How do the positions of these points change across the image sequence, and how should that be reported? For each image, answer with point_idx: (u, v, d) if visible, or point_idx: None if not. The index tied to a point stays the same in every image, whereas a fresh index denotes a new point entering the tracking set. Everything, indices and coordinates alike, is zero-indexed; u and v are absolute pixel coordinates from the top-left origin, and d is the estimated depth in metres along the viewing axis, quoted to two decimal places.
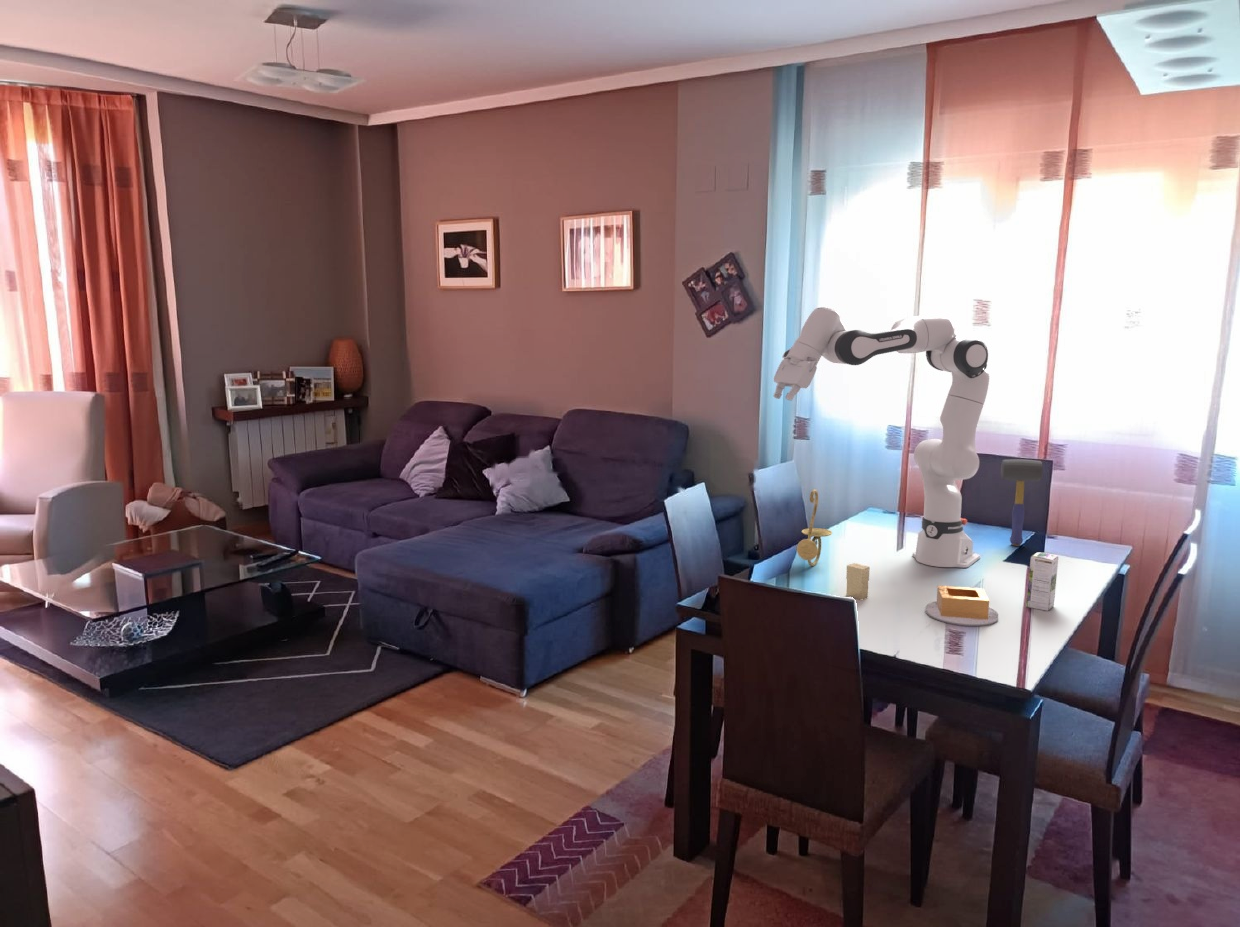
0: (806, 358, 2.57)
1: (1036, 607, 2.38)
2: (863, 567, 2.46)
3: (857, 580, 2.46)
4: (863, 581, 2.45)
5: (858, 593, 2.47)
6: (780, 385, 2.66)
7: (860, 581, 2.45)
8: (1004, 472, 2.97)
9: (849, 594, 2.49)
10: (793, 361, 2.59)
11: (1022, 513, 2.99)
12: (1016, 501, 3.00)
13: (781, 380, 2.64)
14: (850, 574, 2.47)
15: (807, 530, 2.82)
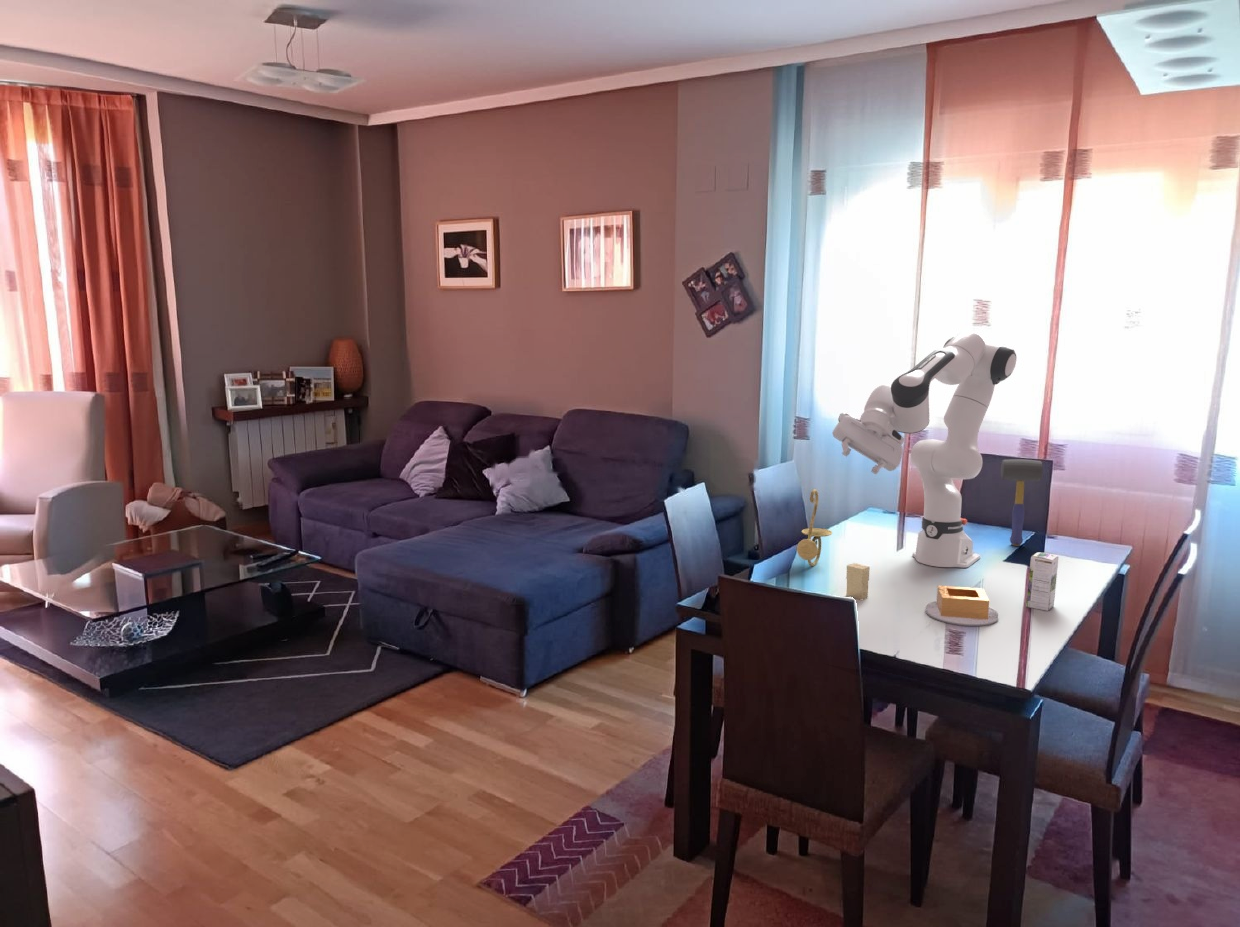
0: None
1: (1036, 607, 2.38)
2: (863, 567, 2.46)
3: (857, 580, 2.46)
4: (863, 581, 2.45)
5: (858, 593, 2.47)
6: (878, 463, 2.45)
7: (860, 581, 2.45)
8: (1004, 472, 2.97)
9: (849, 594, 2.49)
10: None
11: (1022, 513, 2.99)
12: (1016, 501, 3.00)
13: None
14: (850, 574, 2.47)
15: (807, 530, 2.82)
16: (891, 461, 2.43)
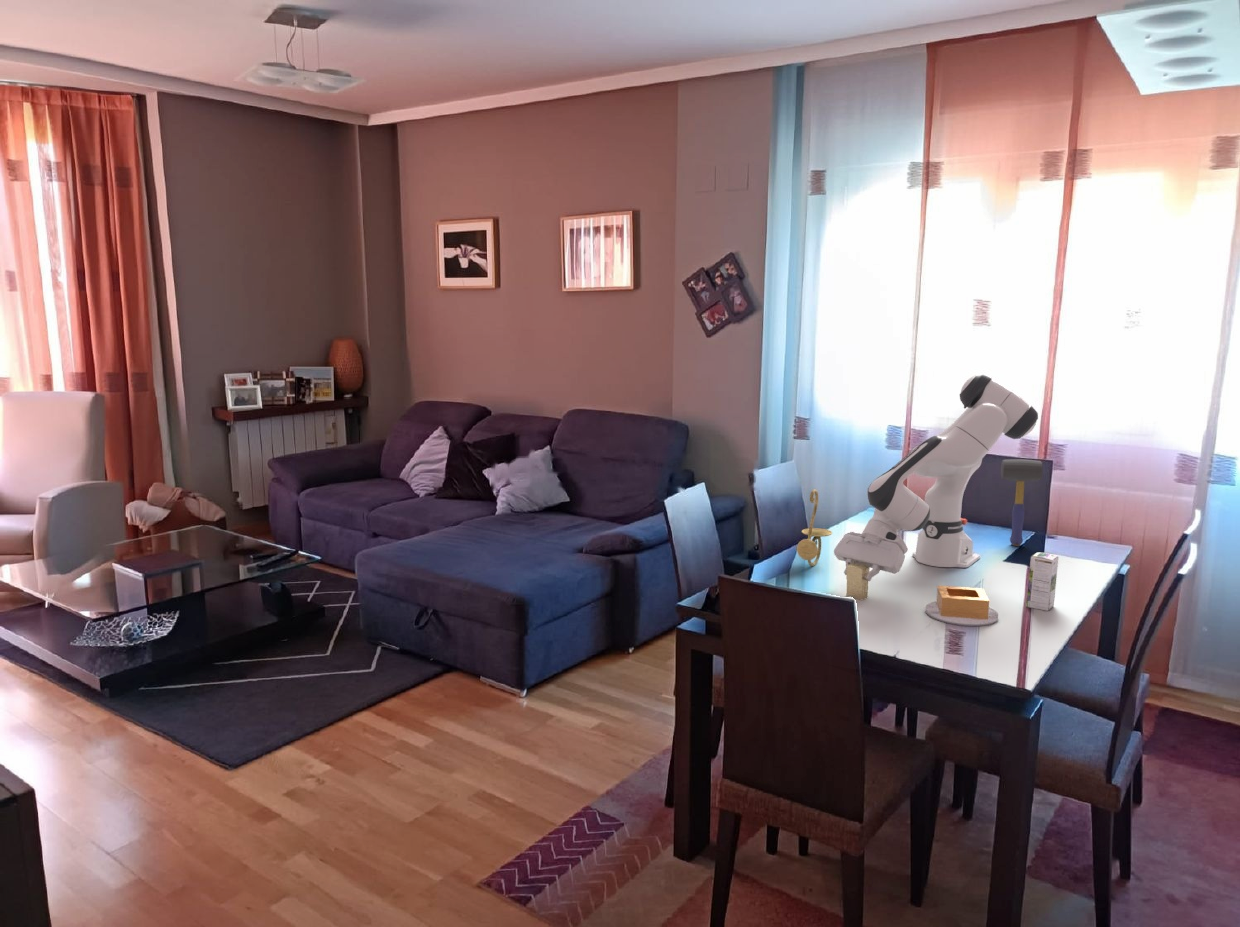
0: None
1: (1036, 607, 2.38)
2: (863, 567, 2.46)
3: (857, 580, 2.46)
4: (863, 581, 2.45)
5: (857, 593, 2.47)
6: None
7: (860, 581, 2.45)
8: (1004, 472, 2.97)
9: (849, 594, 2.49)
10: None
11: (1022, 513, 2.99)
12: (1016, 501, 3.00)
13: None
14: (850, 574, 2.47)
15: (807, 530, 2.82)
16: (885, 565, 2.42)
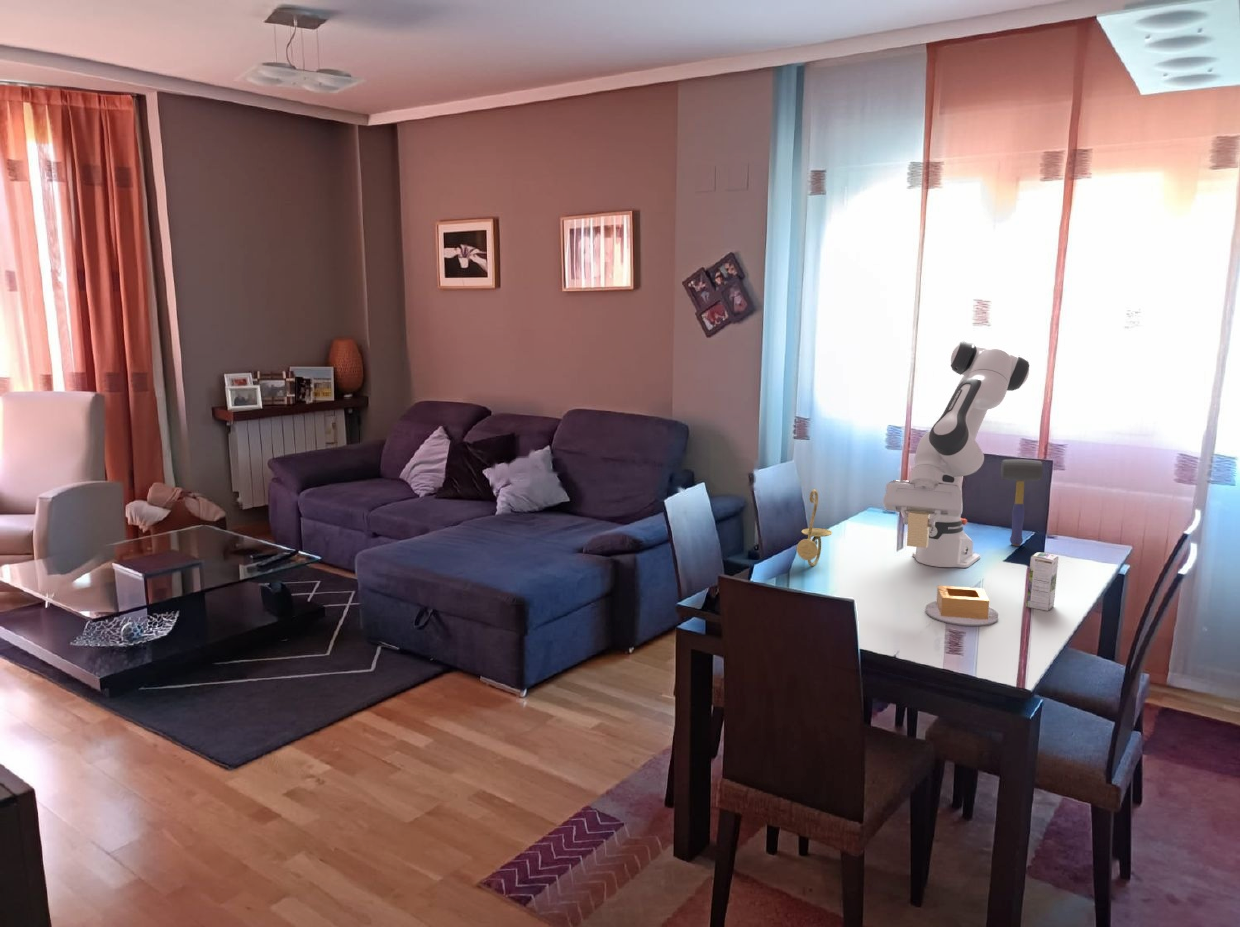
0: None
1: (1036, 607, 2.38)
2: (926, 513, 2.33)
3: (921, 527, 2.32)
4: (927, 527, 2.32)
5: (921, 541, 2.33)
6: (935, 514, 2.34)
7: (925, 528, 2.32)
8: (1004, 472, 2.97)
9: (911, 543, 2.34)
10: None
11: (1022, 513, 2.99)
12: (1016, 501, 3.00)
13: None
14: (912, 522, 2.33)
15: (807, 530, 2.82)
16: (951, 508, 2.31)
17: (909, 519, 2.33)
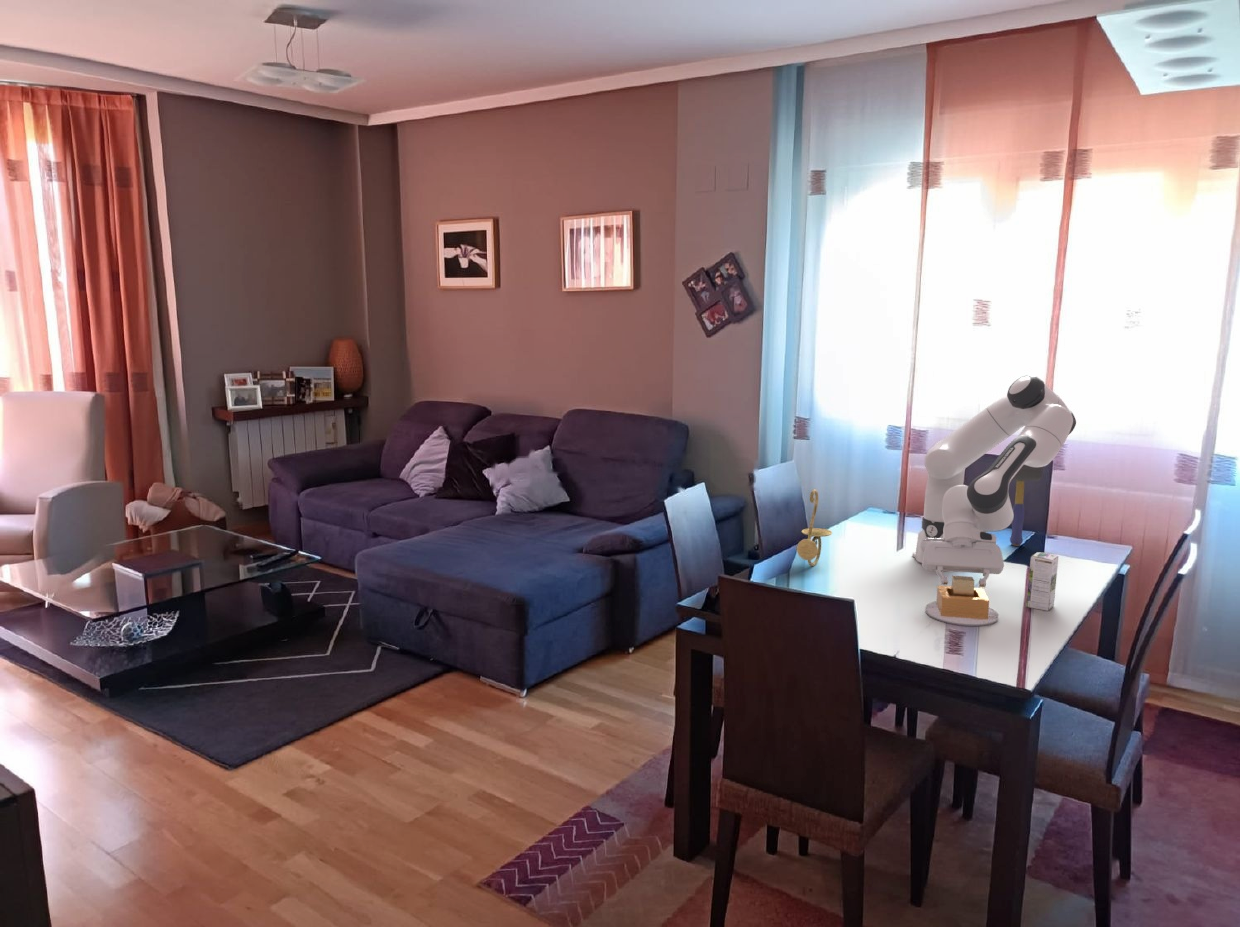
0: None
1: (1036, 607, 2.38)
2: (970, 578, 2.32)
3: (968, 593, 2.31)
4: None
5: None
6: (983, 573, 2.33)
7: (972, 593, 2.31)
8: None
9: None
10: None
11: (1022, 513, 2.99)
12: (1016, 501, 3.00)
13: None
14: (958, 588, 2.31)
15: (807, 530, 2.82)
16: (994, 566, 2.31)
17: (955, 585, 2.31)
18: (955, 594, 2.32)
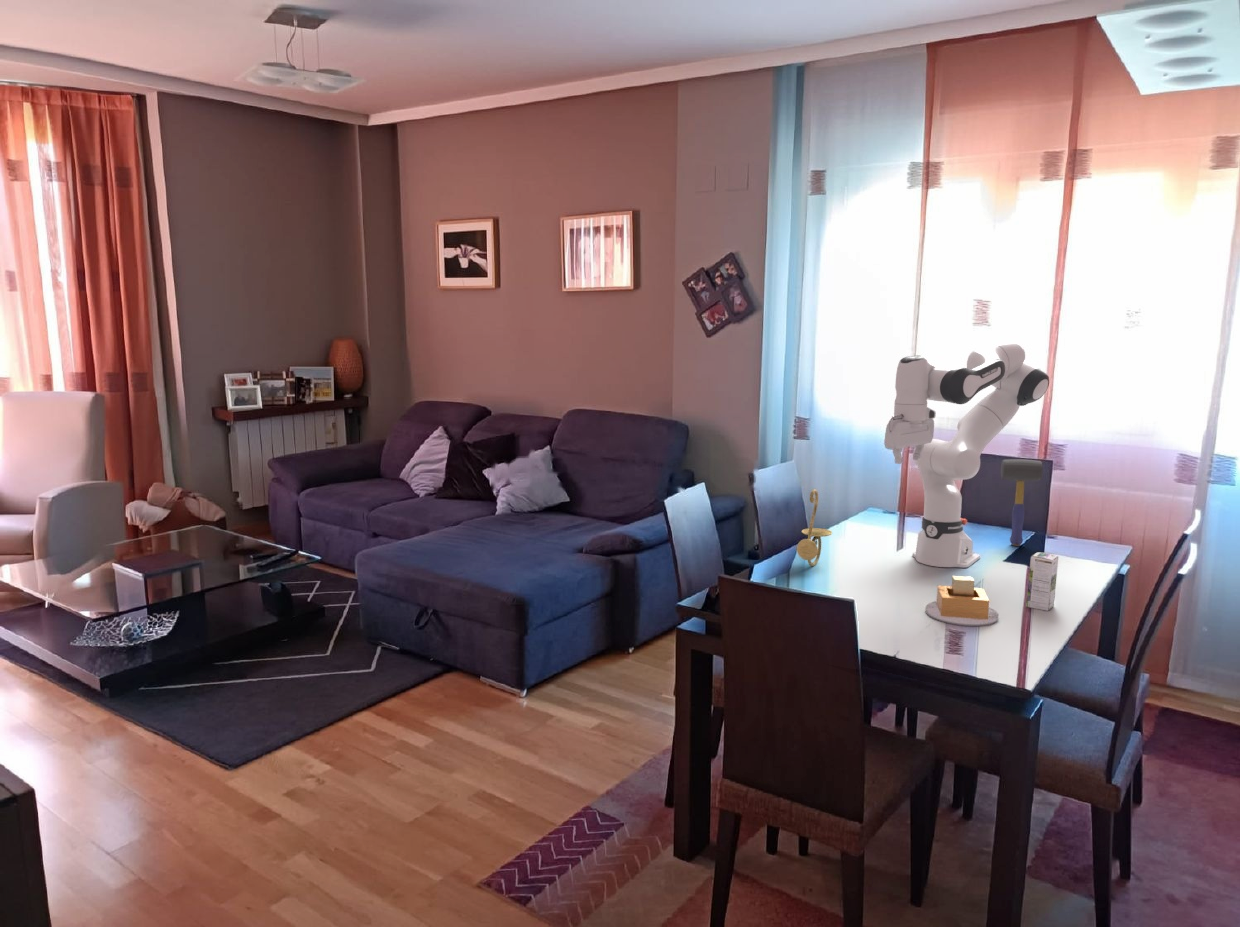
0: None
1: (1036, 607, 2.38)
2: (970, 578, 2.32)
3: (968, 593, 2.31)
4: None
5: None
6: (916, 445, 2.55)
7: (972, 593, 2.31)
8: (1004, 472, 2.97)
9: None
10: None
11: (1022, 513, 2.99)
12: (1016, 501, 3.00)
13: None
14: (958, 588, 2.31)
15: (807, 530, 2.82)
16: (928, 442, 2.55)
17: (955, 586, 2.31)
18: (955, 594, 2.32)
